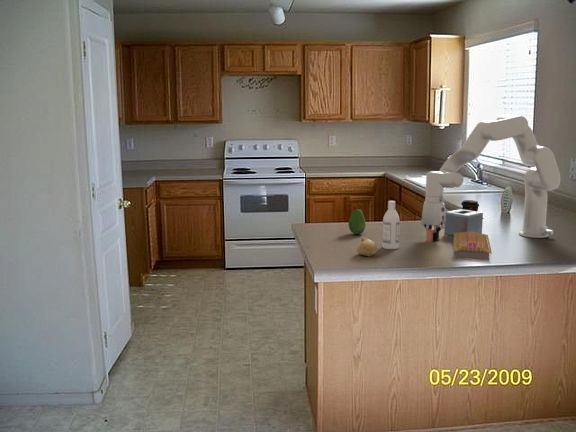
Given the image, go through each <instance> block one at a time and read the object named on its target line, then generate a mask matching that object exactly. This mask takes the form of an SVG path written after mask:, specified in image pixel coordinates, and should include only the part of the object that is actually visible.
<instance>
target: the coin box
mask: <svg viewBox="0 0 576 432" xmlns="http://www.w3.org/2000/svg"><path fill="white" fill-rule="evenodd" d="M483 218H484V212H483V211H478V212H477V211H470V210H463V209H462V208H458V209H455V210H454V209H453V210H449V211H446V224H445V227H446V228H444V232H443V233H444V235H443V236H445V235H446V236H445V237H450V236H451V238H454V233H459V234H460V232H470V231H472V232H477V233H478V234H479V233H482V234H483V224H484V223H483ZM463 234H464V233H463ZM465 234H466V233H465ZM466 235H467V234H466ZM476 235H477V234H476Z"/></svg>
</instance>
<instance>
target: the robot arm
mask: <svg viewBox="0 0 576 432" xmlns="http://www.w3.org/2000/svg"><path fill="white" fill-rule="evenodd" d="M510 138H511V139H513V141H514V143H515V146H516V149H517V151H518V154H519V157H520V160H521V163H522V164H523V165H525V166H527V167H530V168H528V169H527V171H526V172H525V174H524V177H523V180H524V189H525V190H524V191H525V192H524V193H525V194H524V206H523V207H524V208H523V222H522V223H523V225H522V226H523V227H522V230H520V231H519V232H518V235H519V236H521V237H525V238H534V239H544V238H548V237H549V235H550V236H551V235H554V230H553V229H548V227H549V226H546V223H547V209H548V199H549V198H548V191H555V190H556V189H557V188H559V186H560V184H561V179H562V178H561V173H560V169H559V166H558V164H557V161H556V157H555V155H554V152H553V151H552V150H551V148H550V147H549V148H548V147H547V146H543V145H539V143H538V141H537V138H536V136H535V134H534V131H533V129H532V128H531V126H529V121H528V119H527V118H526V117H525V116H523V115H517V114H515V115H514V114H503V115H500V116H498V117H497V118H496V120H481V121H479V122H478V123H477V124H476V126H475V127H474V128H473V130H472V131H471V133H470V134H469V135H468V137H467V138H466V140H465V141H464V143H463V144H462V145H461V147H459V149H456V151H455V152H453V154H452V155H450V156H449V157H448V158H447V159H446V160H445V162H444V163H443V164H442V165H441V167H440V169H439V170H438V171H437V170H436V171H434V170H431V171H428V172H427V173H426V176H425V177H426V179H425V180H426V181H425V198H424V199H425V200H424V202H423V207H422V212H421V222H420V225H421V226H422V227H424V228H425V232H427V230H429V229H433V228H434V233H433V242H438V241H439V240H438V232H439V233H440V232H441V230H443V229H444V230H445V228H446V227H445V224H446V212H447V210H446V205H445V201H446V198H444V188H446V189H457V188H460V187H462V185H463V184H464V176H463V174H462V173H460V172H458V171H459V170H460V169H461V168H462V167H463V166H464V165H466V164H469V163H470V162H472V161H473V162H474V161H475V160H476V159H478V158H479V157H480V156H481V154H482V152H483V151H484V150H485V148H486V146H487V145H488V144H489V142H490V141H492V142H495V141H496V142H497V141H502V140H506V139H510Z"/></svg>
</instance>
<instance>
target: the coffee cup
mask: <svg viewBox="0 0 576 432" xmlns="http://www.w3.org/2000/svg"><path fill="white" fill-rule="evenodd" d="M478 202H479V201H477V200H473V199H463V201H461V203H460V204H461V206H462V207H461V209H463V210H470V211H477V212H479V207H480V204H479V203H478Z"/></svg>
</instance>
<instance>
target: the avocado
mask: <svg viewBox="0 0 576 432" xmlns="http://www.w3.org/2000/svg"><path fill="white" fill-rule="evenodd" d="M348 229H349V230H350V233H352V234H354V235H356V234H359V235H361V234H363V233H364V231H365V229H366V219H365V216H364V213H363V210H361V209H358V208H357V209H355V210H353V211H352V213H351V214H350V217H349V219H348Z"/></svg>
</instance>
